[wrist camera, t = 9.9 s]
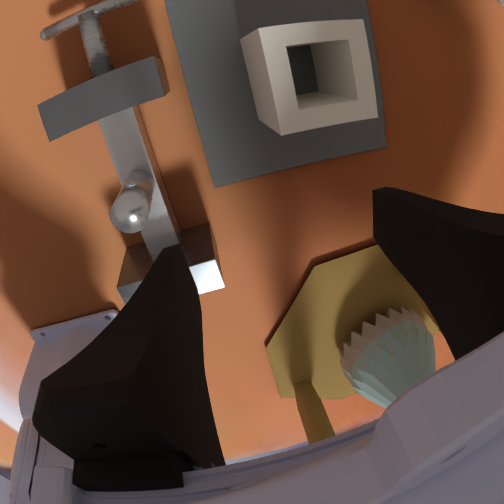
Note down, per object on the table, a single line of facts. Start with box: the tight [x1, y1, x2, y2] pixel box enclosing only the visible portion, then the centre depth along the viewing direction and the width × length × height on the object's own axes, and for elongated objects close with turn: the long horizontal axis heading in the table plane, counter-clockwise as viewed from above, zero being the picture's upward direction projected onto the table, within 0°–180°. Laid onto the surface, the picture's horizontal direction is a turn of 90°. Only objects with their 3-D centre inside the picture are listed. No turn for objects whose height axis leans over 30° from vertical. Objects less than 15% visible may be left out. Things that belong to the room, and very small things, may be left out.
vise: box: [37, 0, 225, 304], centre depth 15 cm, size 17×6×6 cm, turn 12°
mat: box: [165, 0, 387, 188], centre depth 17 cm, size 12×12×1 cm
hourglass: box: [266, 245, 444, 444], centre depth 21 cm, size 24×22×25 cm
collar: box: [240, 19, 378, 136], centre depth 15 cm, size 5×5×5 cm
